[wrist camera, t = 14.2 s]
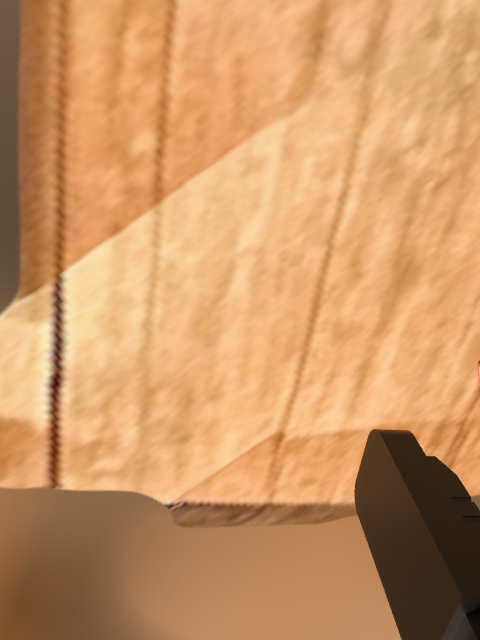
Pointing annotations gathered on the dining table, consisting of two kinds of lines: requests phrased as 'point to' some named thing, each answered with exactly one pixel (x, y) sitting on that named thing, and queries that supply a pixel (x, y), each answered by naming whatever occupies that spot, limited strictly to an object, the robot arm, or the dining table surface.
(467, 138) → the dining table surface
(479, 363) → the cracker box
